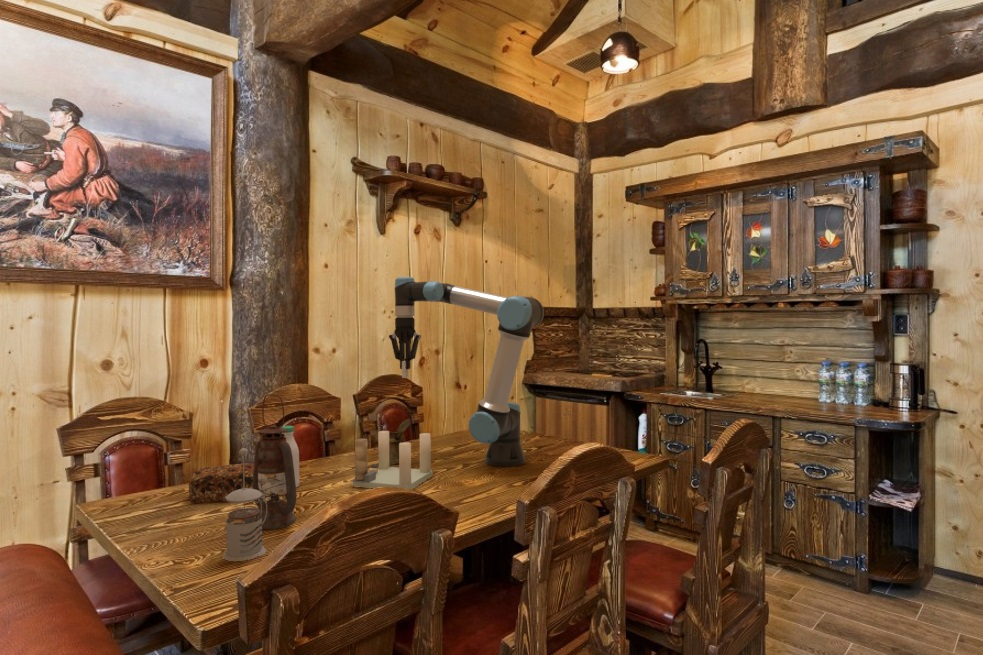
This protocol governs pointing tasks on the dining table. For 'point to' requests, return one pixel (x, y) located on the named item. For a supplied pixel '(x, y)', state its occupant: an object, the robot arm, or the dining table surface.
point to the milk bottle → (295, 453)
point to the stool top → (404, 473)
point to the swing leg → (362, 460)
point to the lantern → (274, 459)
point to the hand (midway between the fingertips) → (405, 377)
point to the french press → (244, 525)
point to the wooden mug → (397, 441)
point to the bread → (219, 482)
